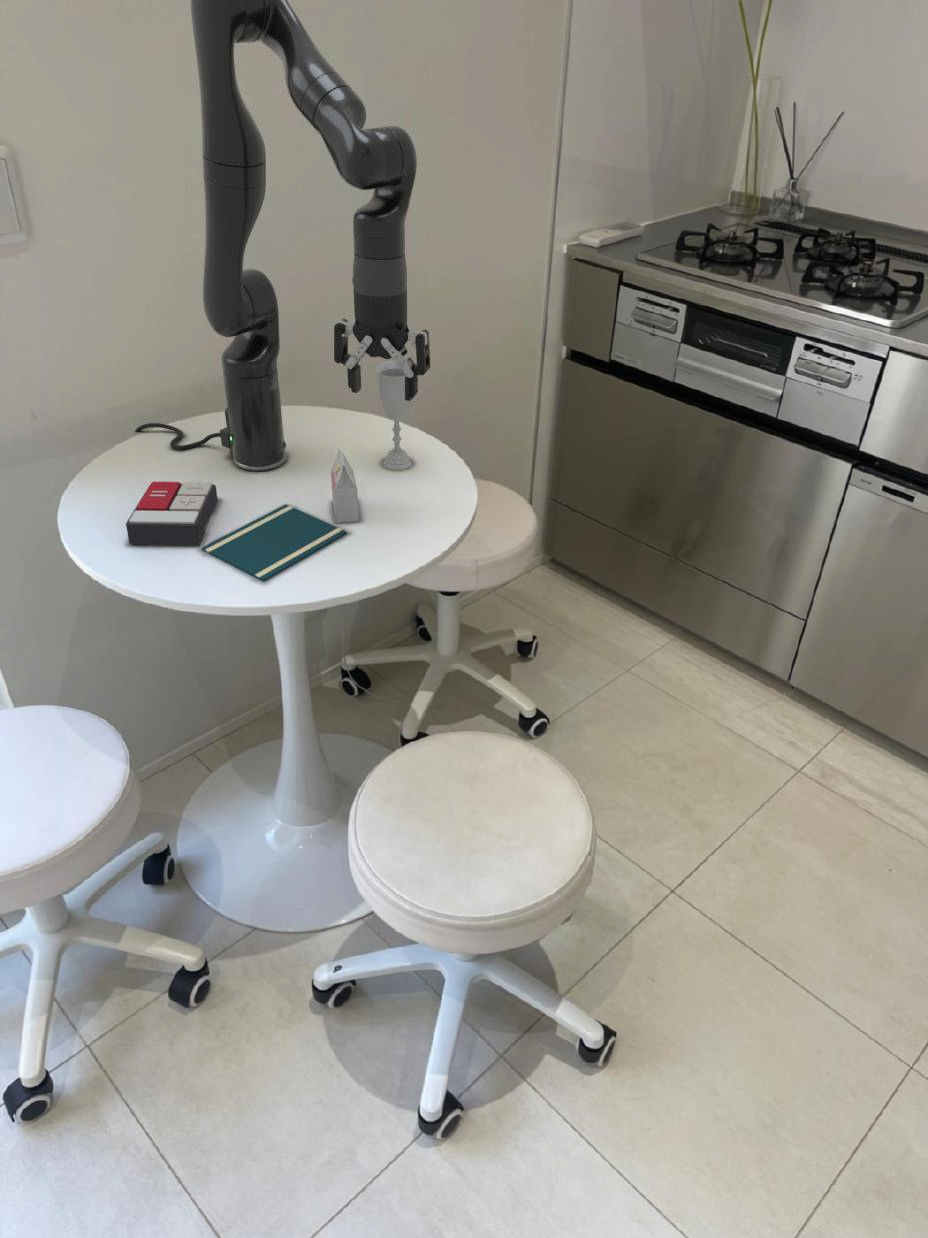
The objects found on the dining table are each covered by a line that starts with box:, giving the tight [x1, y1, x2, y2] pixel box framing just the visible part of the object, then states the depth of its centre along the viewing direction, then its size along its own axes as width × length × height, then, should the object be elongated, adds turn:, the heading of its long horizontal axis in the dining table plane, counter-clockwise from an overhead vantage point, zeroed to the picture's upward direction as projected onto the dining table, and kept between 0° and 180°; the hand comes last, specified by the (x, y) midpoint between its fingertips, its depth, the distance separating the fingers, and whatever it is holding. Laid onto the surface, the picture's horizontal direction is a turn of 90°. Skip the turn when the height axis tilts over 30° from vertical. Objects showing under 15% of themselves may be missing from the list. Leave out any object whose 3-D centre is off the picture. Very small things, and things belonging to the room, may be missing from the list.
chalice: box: [375, 360, 412, 471], centre depth 169 cm, size 7×7×18 cm
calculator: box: [125, 481, 219, 546], centre depth 155 cm, size 11×4×15 cm
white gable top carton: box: [330, 448, 360, 524], centre depth 157 cm, size 4×7×10 cm, turn 11°
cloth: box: [201, 504, 348, 582], centre depth 151 cm, size 14×18×1 cm
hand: (382, 394), depth 144 cm, fingers open, 8 cm apart
